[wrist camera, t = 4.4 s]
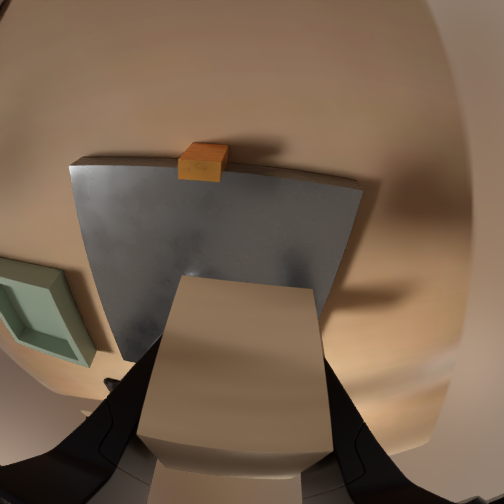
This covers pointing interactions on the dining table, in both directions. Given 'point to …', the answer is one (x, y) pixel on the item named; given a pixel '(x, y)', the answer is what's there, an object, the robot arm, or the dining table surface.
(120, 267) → the base
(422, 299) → the dining table surface
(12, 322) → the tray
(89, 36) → the dining table surface
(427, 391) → the dining table surface
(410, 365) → the dining table surface
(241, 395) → the block
